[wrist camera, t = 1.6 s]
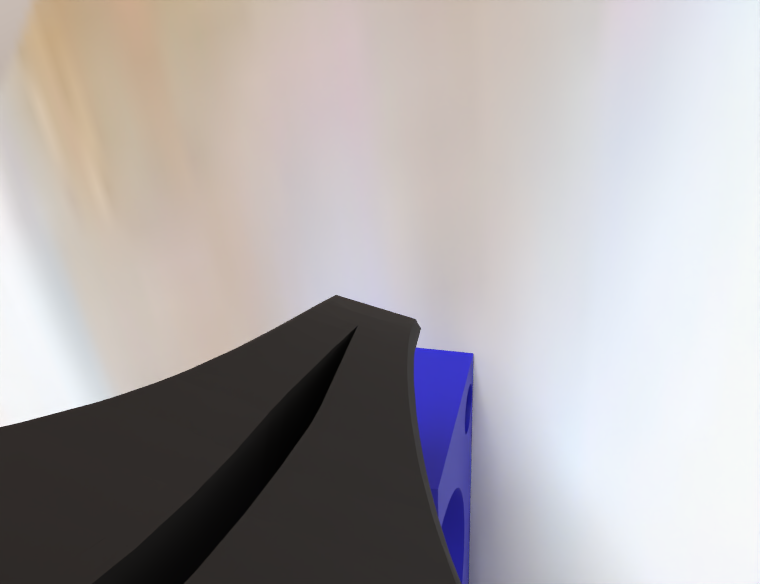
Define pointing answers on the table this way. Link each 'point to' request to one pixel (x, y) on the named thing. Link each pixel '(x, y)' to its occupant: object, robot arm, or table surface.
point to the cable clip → (447, 442)
